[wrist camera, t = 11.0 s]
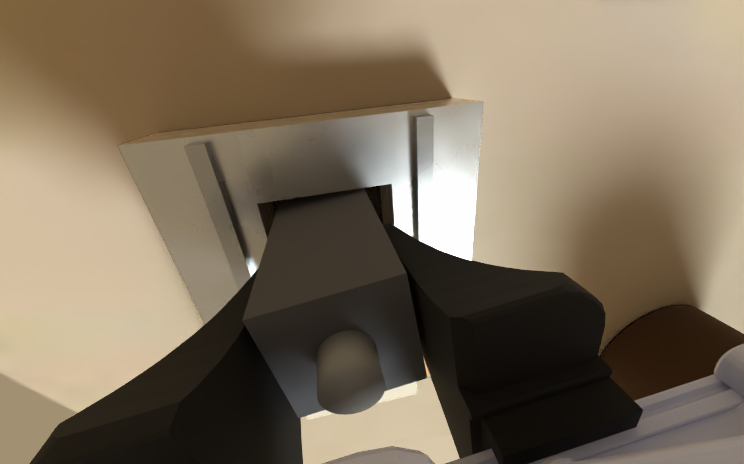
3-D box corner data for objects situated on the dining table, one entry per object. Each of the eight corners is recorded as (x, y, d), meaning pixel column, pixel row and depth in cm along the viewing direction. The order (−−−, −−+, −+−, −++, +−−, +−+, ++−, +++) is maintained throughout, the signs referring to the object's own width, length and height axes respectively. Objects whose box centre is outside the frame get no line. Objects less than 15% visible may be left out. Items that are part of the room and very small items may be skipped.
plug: (360, 180, 12) (422, 303, 5) (377, 249, 14) (441, 415, 7) (278, 202, 12) (229, 360, 5) (305, 270, 14) (296, 461, 7)
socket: (452, 98, 13) (489, 102, 10) (445, 331, 19) (466, 371, 17) (156, 132, 11) (108, 148, 9) (257, 372, 18) (247, 422, 15)
